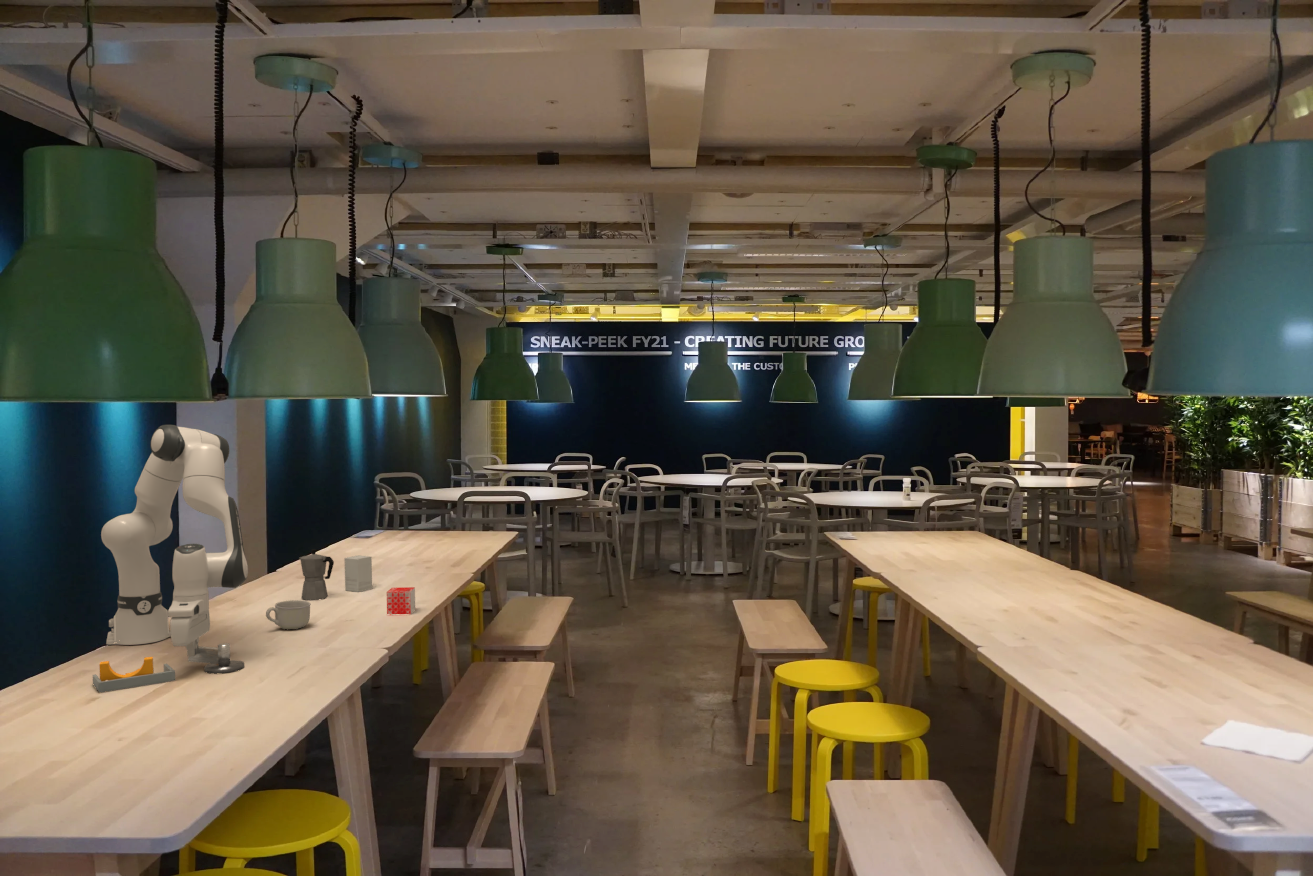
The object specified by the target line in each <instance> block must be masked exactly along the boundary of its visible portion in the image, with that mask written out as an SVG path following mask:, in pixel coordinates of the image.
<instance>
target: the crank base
mask: <svg viewBox="0 0 1313 876" xmlns="http://www.w3.org/2000/svg"><path fill="white" fill-rule="evenodd" d="M244 668H245V662H244V661H242V660H236V659H232V660H231V659H230V665H226V666H219V665H218V664H214V663H206V665H205V666H204V667H203V669H204V672H205V673H206V672H207V674H211V673H214V675H218V674H217V673H222V674H230V673H235V672H239V671H241V670H243V669H244ZM238 670H239V671H238Z"/></svg>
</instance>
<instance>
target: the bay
mask: <svg viewBox="0 0 1313 876" xmlns="http://www.w3.org/2000/svg"><path fill="white" fill-rule="evenodd" d="M174 681H176V670H175V669H173V668H172V667H171V666H170V664H168V663H163V671H160V672H154V673H153V674H147V675H140V676H134V677H128V678H121V679H115V680H106V681H101V680H100V676H98V675H97V674H92V685H93V684H94V685H93V686H95V687H96V688H95V687H94V688H95V689H96V691H97V690H98V691H99V692H101V693H106V692H105V691H108V692H112V691H113V692H114V691H118V690H125V689H130V688H137V687H138V688H139V687H143V686H150V685H156V684H162V683H168V682H174ZM98 691H97V692H98ZM99 692H98V693H99Z"/></svg>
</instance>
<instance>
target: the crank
mask: <svg viewBox="0 0 1313 876" xmlns="http://www.w3.org/2000/svg"><path fill="white" fill-rule="evenodd" d="M230 660H231V643H227V642H226V643H225V642H224V643H218V644H217V647H215V646H214V647H213V646H202V645H201V646H200V645H198V647H197V654H196V655H195V656H193V657H188V656H187V661H188V662H190V663H191V662H192V663H204V664H210V663H214V664H218V665H219V666H226V665H230Z"/></svg>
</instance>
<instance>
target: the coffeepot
mask: <svg viewBox="0 0 1313 876" xmlns="http://www.w3.org/2000/svg"><path fill="white" fill-rule="evenodd" d="M316 552H317V549H315V548H312V549H311V554H308V555H303V556H299V557H298V559H299V561H300V565H301V571H302V576H303V577H304V581H303V585H302V592H301V598H300V599H301V600H302V601H320V600H319V599H321V600H325V599H327V598H328V597H329V595H328V589H327V585H326V580H329V579H331V575H332V572H333V568H334V563H335V561H334V559H333V558H332V557H331V556H327V555H321V554H317V553H316ZM327 562H328V568H327ZM326 568H327V572H326ZM326 574H327V575H326ZM325 575H326V576H325Z"/></svg>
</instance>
